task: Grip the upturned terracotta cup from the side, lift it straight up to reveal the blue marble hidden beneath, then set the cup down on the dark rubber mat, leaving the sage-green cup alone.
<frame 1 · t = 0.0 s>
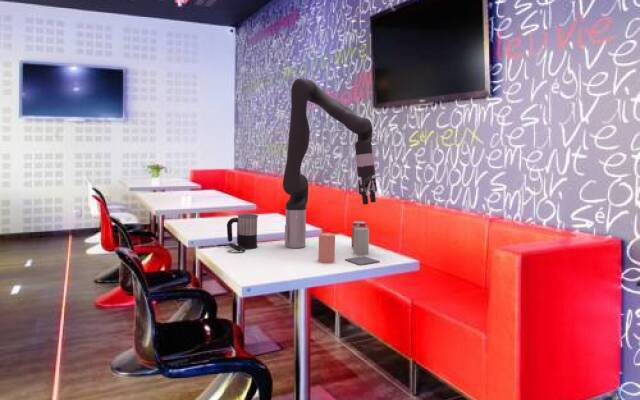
hand: (369, 203, 211), 22 cm above the table, tool pointing down, fingers open, 8 cm apart
cup terracotta: (326, 261, 202), on the table
marble: (326, 257, 202), in the cup terracotta
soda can: (359, 248, 228), on the table
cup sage: (361, 253, 217), on the table
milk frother: (243, 249, 222), on the table
mat: (362, 261, 202), on the table
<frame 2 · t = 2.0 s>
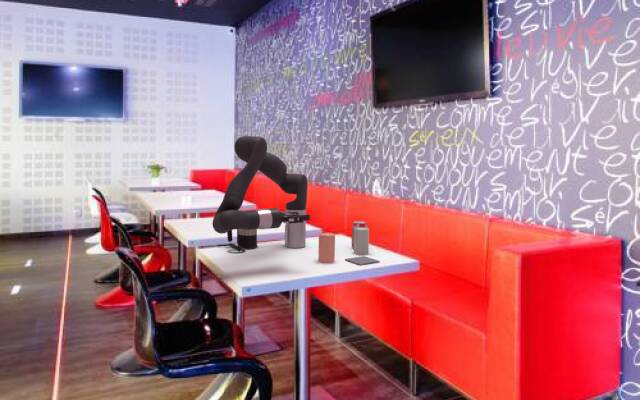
hand: (303, 216, 194), 19 cm above the table, tool horizontal, fingers open, 8 cm apart
nothing on the table moved.
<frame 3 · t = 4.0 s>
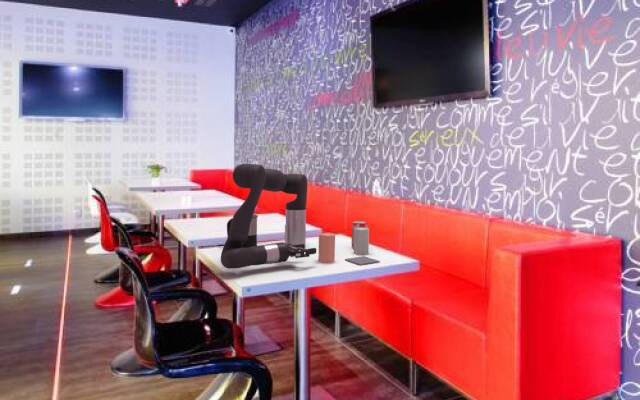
hand: (309, 248, 197), 6 cm above the table, tool horizontal, fingers open, 8 cm apart
nothing on the table moved.
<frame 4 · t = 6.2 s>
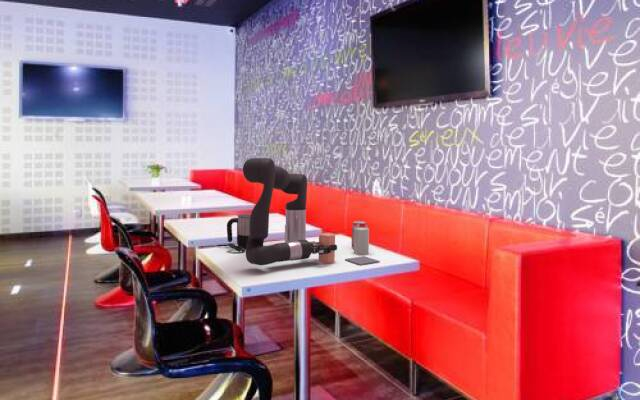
hand: (331, 245, 203), 6 cm above the table, tool horizontal, fingers closed on cup terracotta, 6 cm apart
cup terracotta: (326, 261, 202), on the table, touching gripper
everything else where it was.
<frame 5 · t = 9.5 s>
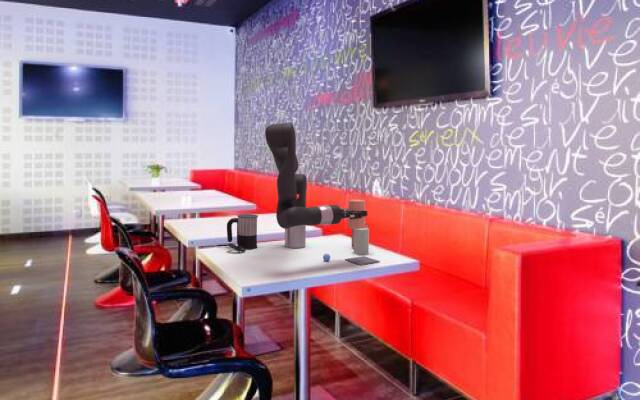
hand: (361, 212, 201), 20 cm above the table, tool horizontal, fingers closed on cup terracotta, 6 cm apart
cup terracotta: (356, 227, 200), point 14 cm above the table, touching gripper
everything else where it was.
when the fingers open (8 cm above the table, at t = 12.6 s): cup terracotta drops 1 cm, resting on mat.
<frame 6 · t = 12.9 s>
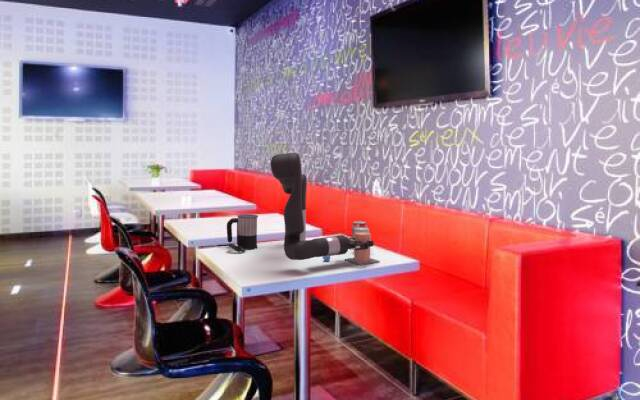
hand: (366, 241, 202), 8 cm above the table, tool horizontal, fingers open, 8 cm apart
cup terracotta: (362, 260, 202), point 1 cm above the table, touching mat
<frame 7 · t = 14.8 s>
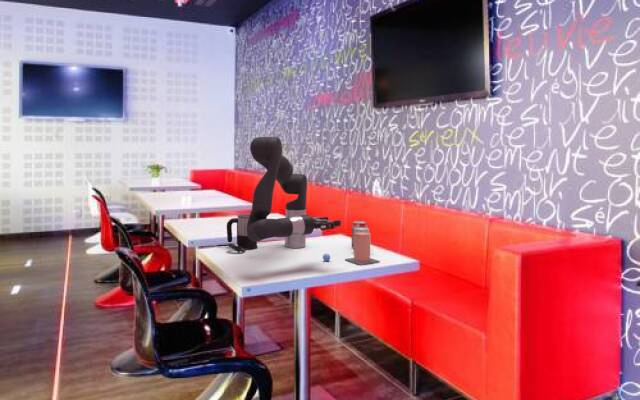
hand: (333, 221, 196), 17 cm above the table, tool horizontal, fingers open, 8 cm apart
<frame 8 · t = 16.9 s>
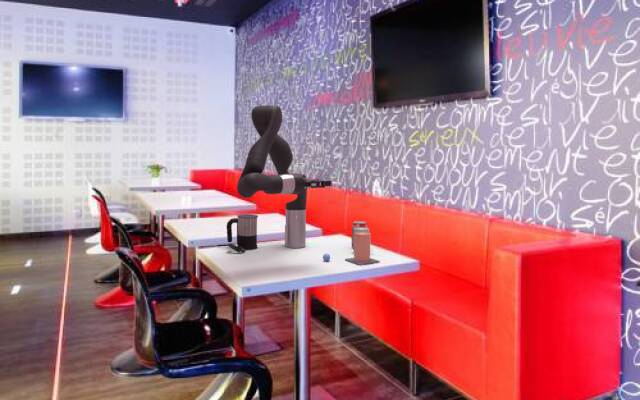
hand: (324, 182, 196), 32 cm above the table, tool horizontal, fingers open, 8 cm apart
at the end: cup terracotta inside the target area on the mat (0.1 cm from its centre), point 0.6 cm above the mat's base; cup terracotta tilted 0°; the gripper is holding nothing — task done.
